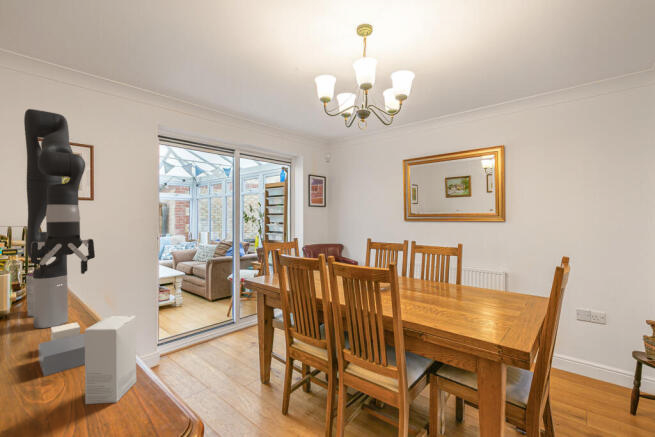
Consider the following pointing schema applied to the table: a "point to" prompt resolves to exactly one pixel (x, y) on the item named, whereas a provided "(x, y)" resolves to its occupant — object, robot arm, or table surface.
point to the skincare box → (110, 359)
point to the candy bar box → (30, 295)
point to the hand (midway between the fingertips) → (64, 275)
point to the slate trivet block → (62, 354)
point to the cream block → (65, 331)
